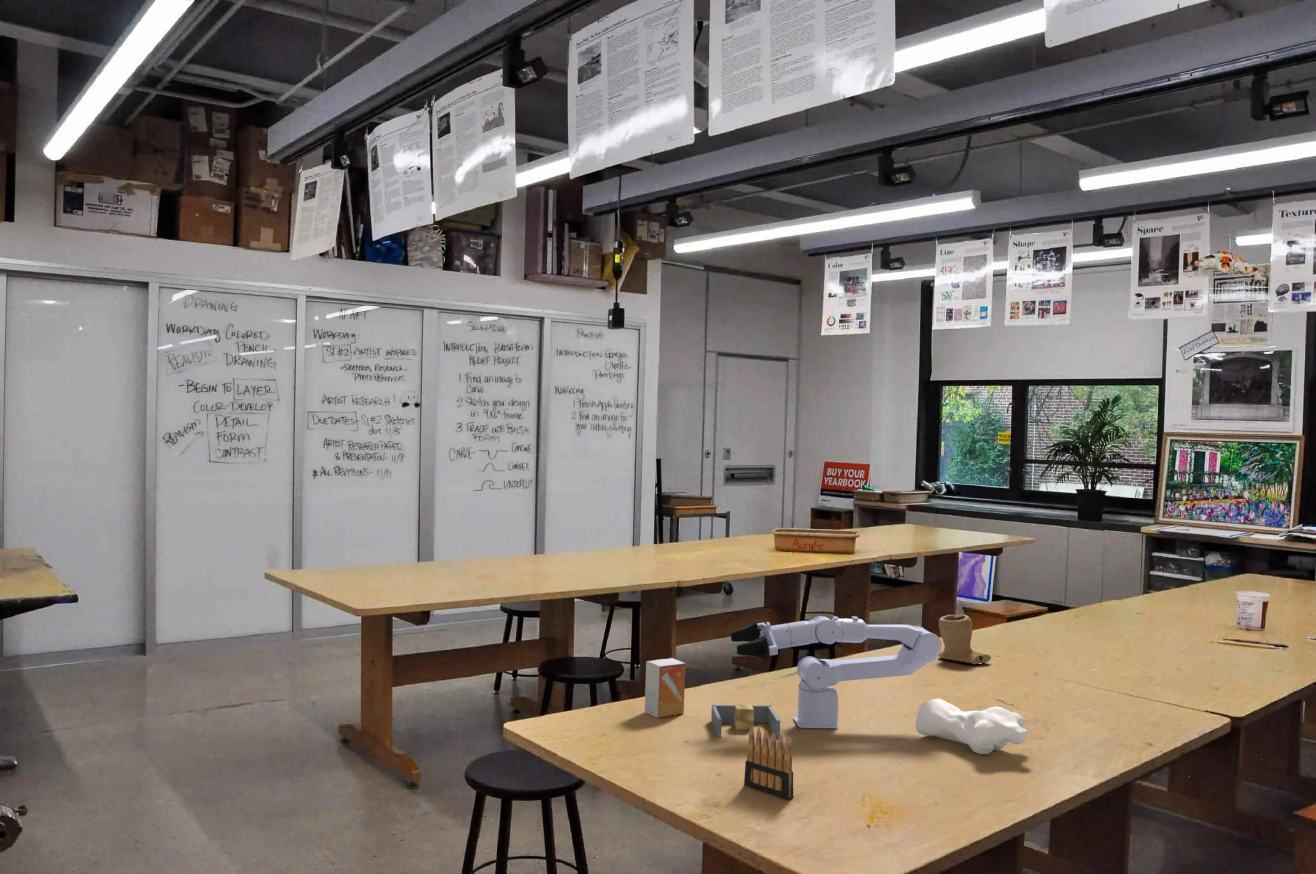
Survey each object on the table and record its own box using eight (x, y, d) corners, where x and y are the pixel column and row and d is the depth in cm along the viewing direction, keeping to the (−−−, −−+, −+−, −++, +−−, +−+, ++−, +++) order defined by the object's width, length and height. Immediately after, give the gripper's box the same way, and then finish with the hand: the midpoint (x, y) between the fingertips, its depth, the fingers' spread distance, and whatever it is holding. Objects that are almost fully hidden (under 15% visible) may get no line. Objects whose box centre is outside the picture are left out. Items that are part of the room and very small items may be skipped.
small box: (657, 718, 236) (659, 666, 236) (643, 712, 241) (645, 660, 241) (684, 714, 241) (686, 662, 241) (670, 708, 246) (671, 657, 246)
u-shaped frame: (770, 721, 236) (770, 705, 236) (779, 737, 224) (780, 720, 224) (711, 721, 235) (711, 704, 235) (717, 737, 223) (718, 720, 223)
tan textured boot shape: (929, 660, 310) (931, 613, 310) (949, 655, 318) (950, 610, 318) (972, 669, 298) (974, 621, 298) (991, 663, 306) (993, 617, 306)
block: (750, 725, 233) (751, 704, 233) (753, 730, 229) (753, 709, 229) (734, 724, 233) (734, 704, 233) (736, 729, 229) (737, 709, 229)
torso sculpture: (907, 747, 224) (1003, 768, 205) (905, 704, 225) (1001, 721, 205) (952, 734, 235) (1048, 752, 216) (950, 693, 236) (1045, 708, 217)
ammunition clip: (743, 785, 192) (745, 726, 192) (749, 783, 193) (750, 724, 193) (788, 800, 185) (790, 738, 185) (793, 797, 186) (795, 736, 186)
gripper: (780, 608, 241) (727, 616, 240) (794, 632, 227) (738, 640, 226) (782, 634, 242) (729, 642, 241) (796, 659, 228) (741, 668, 227)
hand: (734, 643), depth 233 cm, fingers open, 7 cm apart
